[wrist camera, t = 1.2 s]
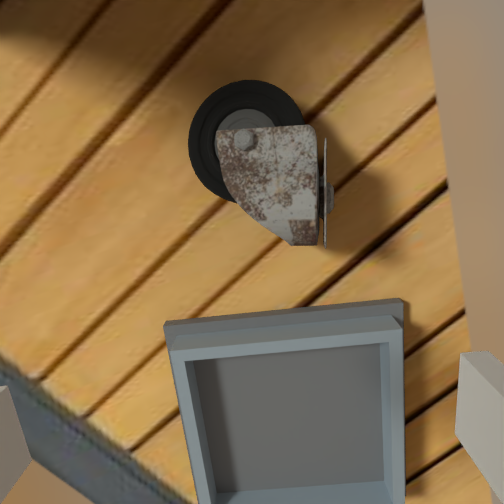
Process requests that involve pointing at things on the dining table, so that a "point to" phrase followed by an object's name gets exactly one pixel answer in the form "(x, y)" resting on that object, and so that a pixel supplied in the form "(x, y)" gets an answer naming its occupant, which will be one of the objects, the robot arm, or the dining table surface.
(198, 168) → the caster wheel
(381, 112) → the dining table surface
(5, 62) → the dining table surface
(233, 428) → the tray
